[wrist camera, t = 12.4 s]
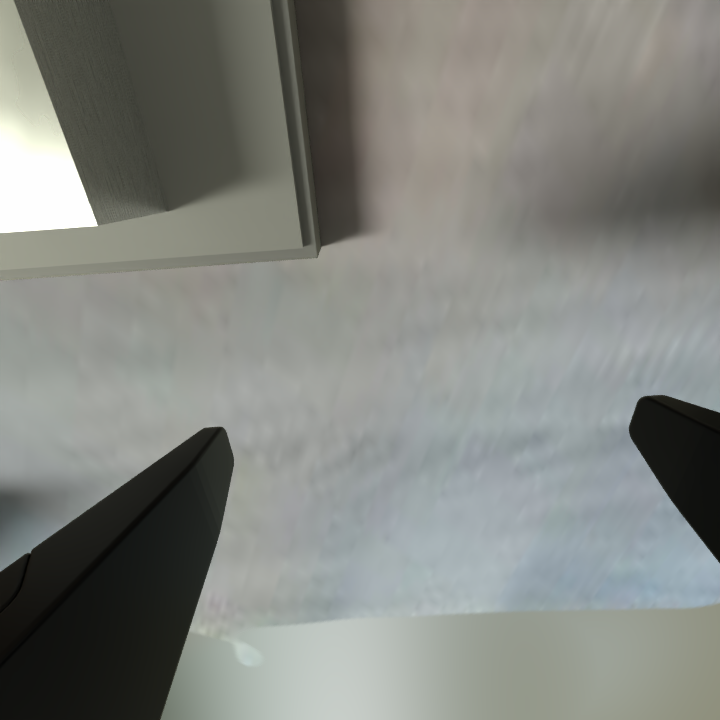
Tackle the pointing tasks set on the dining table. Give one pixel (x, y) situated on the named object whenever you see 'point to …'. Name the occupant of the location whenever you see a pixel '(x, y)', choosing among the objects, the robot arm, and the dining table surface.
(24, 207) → the block
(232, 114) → the stand
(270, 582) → the dining table surface
